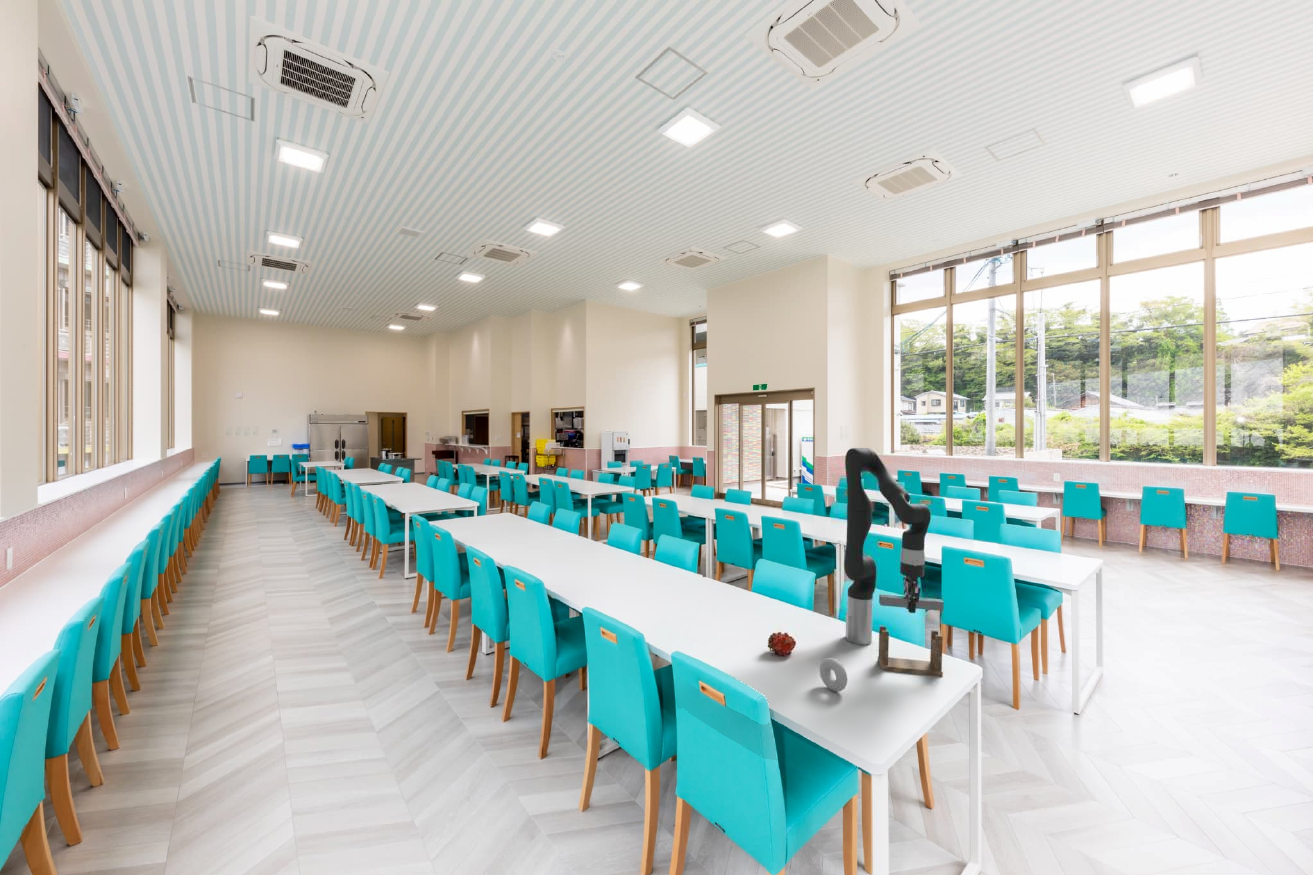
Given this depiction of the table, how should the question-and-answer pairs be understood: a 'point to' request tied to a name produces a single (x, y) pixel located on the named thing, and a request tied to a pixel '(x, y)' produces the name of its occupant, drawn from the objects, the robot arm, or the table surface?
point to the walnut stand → (907, 664)
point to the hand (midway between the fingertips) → (910, 610)
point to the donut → (839, 672)
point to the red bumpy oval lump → (781, 643)
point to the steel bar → (903, 602)
